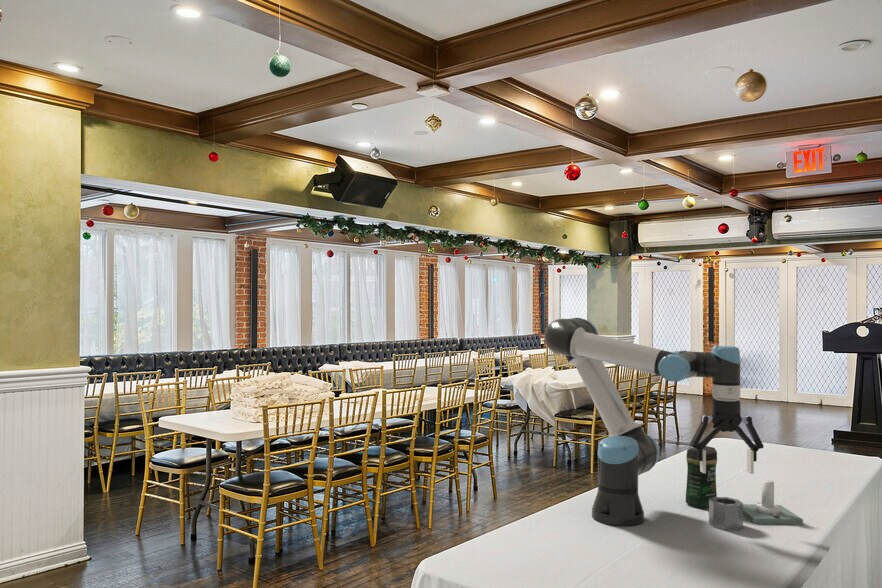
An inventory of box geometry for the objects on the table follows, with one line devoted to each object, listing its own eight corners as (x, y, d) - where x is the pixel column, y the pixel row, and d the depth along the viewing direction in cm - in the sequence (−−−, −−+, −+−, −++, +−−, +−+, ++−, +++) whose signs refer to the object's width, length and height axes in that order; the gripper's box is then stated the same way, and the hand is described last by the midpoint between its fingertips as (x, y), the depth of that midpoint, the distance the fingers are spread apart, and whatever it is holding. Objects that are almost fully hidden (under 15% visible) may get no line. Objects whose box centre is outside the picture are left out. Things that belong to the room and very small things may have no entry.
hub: (716, 529, 193) (716, 505, 193) (705, 520, 201) (706, 496, 202) (746, 530, 193) (746, 505, 193) (734, 520, 201) (734, 497, 201)
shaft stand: (754, 523, 199) (754, 487, 199) (735, 508, 213) (735, 475, 213) (802, 524, 198) (802, 488, 198) (780, 509, 212) (780, 476, 212)
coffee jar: (703, 510, 211) (703, 450, 211) (681, 504, 218) (681, 446, 218) (721, 505, 217) (721, 447, 217) (699, 499, 223) (699, 442, 223)
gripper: (687, 400, 194) (687, 475, 194) (775, 401, 193) (776, 476, 193) (678, 397, 202) (679, 468, 201) (764, 397, 201) (764, 469, 201)
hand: (726, 472), depth 197 cm, fingers open, 13 cm apart
